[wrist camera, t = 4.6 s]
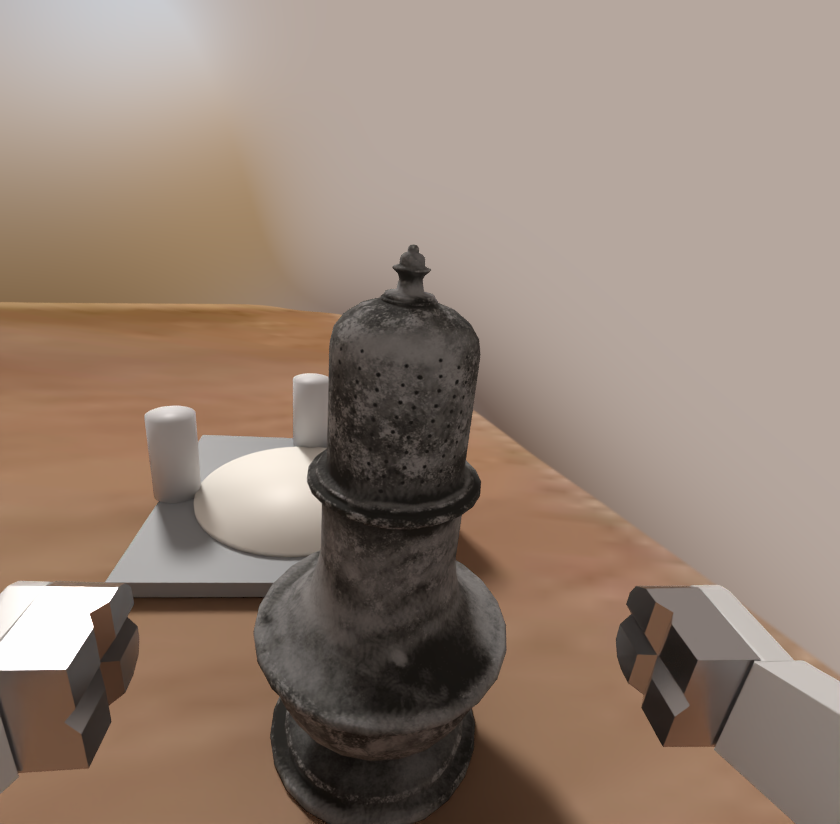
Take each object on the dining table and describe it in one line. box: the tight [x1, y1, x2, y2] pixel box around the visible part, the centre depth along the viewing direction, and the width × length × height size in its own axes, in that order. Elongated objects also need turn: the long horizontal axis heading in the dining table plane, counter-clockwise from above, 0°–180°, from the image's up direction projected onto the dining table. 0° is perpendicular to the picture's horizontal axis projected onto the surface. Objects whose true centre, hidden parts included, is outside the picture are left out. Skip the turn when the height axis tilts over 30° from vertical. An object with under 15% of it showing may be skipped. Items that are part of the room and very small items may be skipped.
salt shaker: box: [254, 245, 506, 824], centre depth 11 cm, size 6×6×12 cm
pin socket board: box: [105, 373, 329, 597], centre depth 22 cm, size 12×11×4 cm
